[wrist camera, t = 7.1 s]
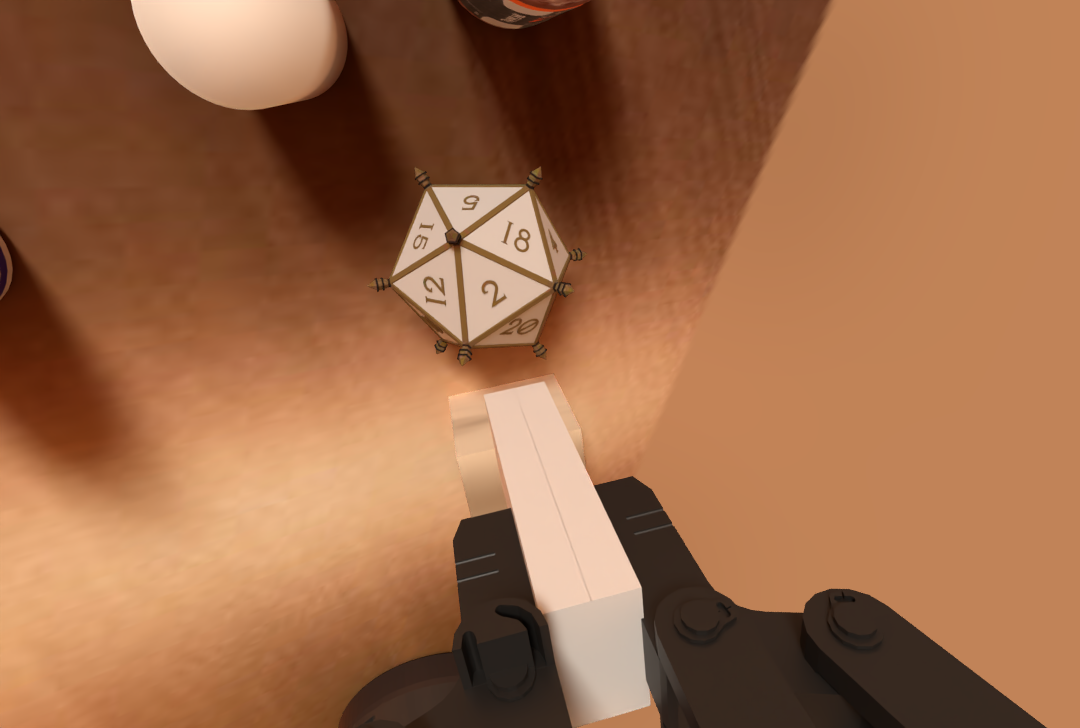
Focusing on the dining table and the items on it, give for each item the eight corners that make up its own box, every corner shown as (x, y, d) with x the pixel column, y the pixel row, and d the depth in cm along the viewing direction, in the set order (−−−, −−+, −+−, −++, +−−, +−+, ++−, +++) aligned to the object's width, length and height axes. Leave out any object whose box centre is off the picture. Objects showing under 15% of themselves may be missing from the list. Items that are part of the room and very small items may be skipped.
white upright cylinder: (361, 91, 25) (344, 96, 18) (242, 110, 25) (175, 122, 17) (326, -49, 23) (291, -106, 16) (193, -32, 22) (94, -83, 15)
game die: (499, 211, 32) (659, 237, 26) (442, 355, 32) (590, 414, 26) (373, 117, 25) (553, 123, 19) (298, 301, 25) (456, 367, 19)
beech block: (565, 458, 36) (592, 523, 31) (468, 481, 35) (480, 552, 30) (553, 372, 33) (581, 428, 28) (448, 395, 32) (456, 457, 27)
